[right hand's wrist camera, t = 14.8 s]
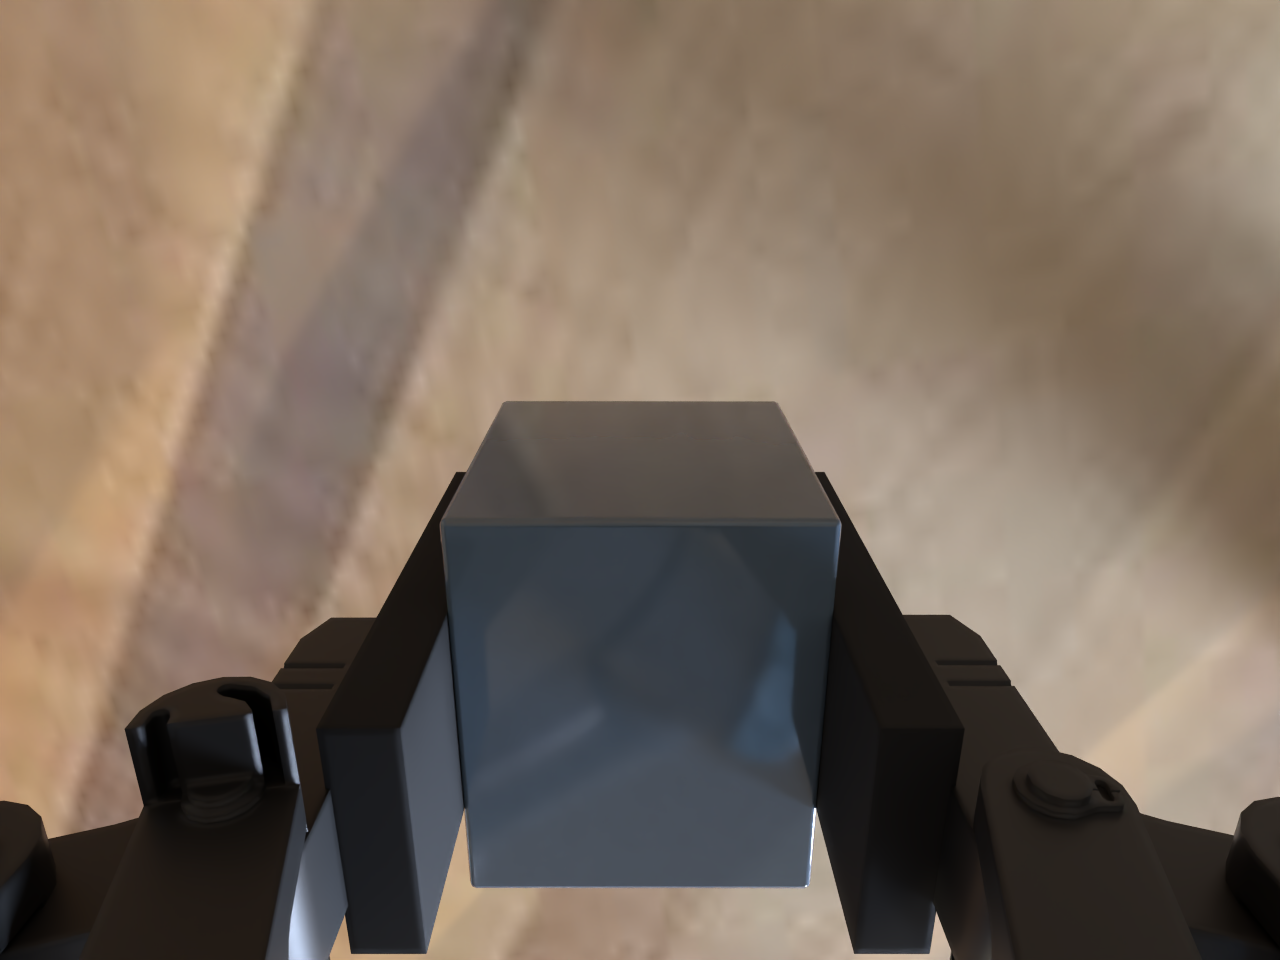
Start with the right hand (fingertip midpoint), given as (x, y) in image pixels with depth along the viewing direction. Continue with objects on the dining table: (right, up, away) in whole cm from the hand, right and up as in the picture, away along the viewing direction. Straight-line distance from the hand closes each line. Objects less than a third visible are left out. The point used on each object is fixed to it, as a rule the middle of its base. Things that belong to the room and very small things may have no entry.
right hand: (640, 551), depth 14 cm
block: (0, 0, 0) cm, 0 cm away
